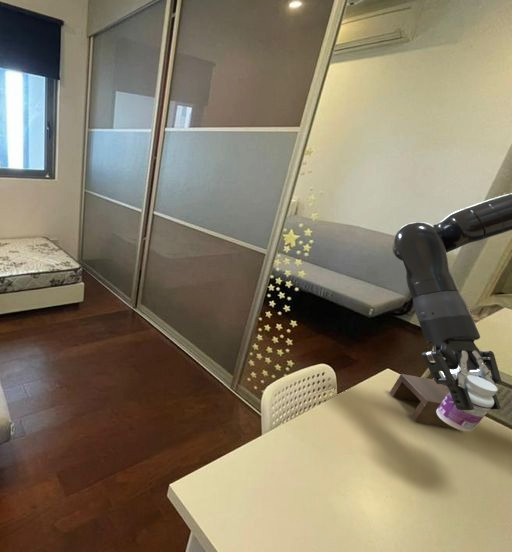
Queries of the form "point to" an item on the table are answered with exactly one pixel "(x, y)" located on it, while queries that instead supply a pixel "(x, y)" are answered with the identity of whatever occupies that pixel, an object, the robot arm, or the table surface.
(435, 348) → the robot arm
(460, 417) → the pill bottle
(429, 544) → the table surface
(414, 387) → the shelf
